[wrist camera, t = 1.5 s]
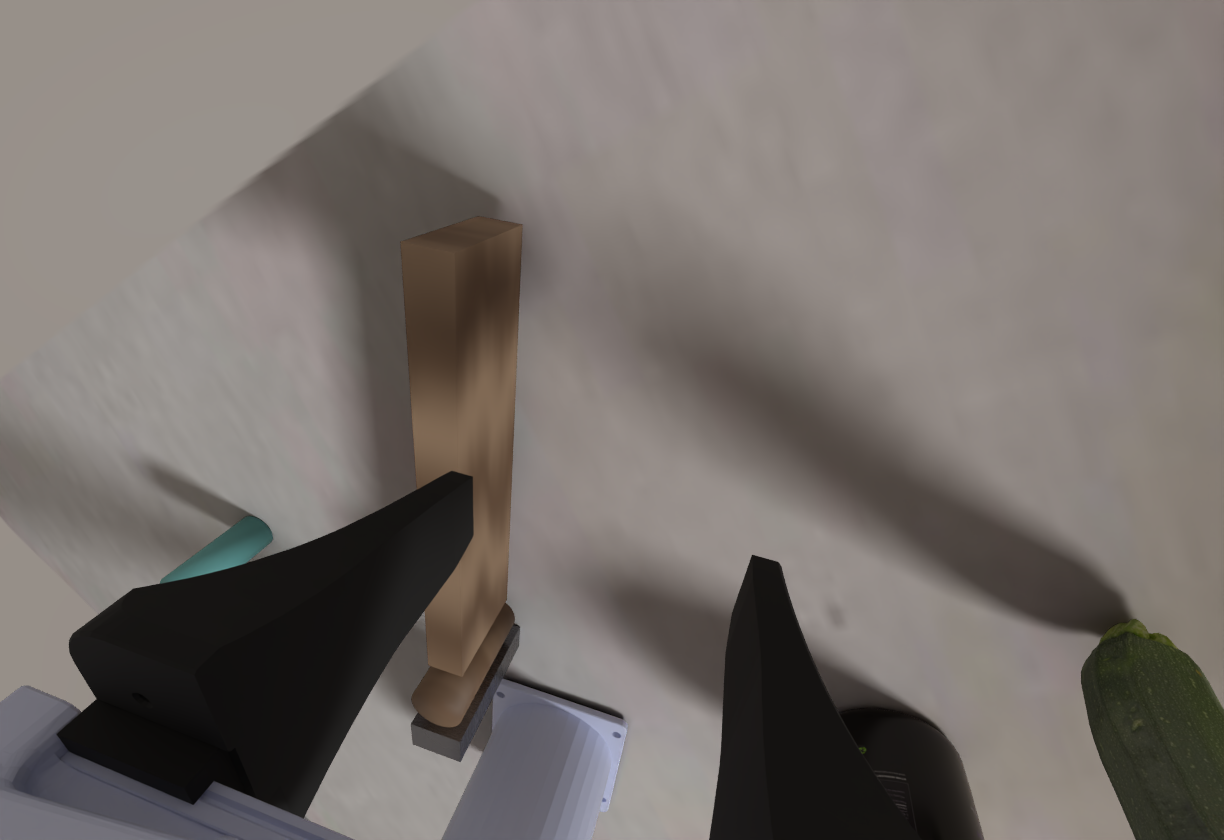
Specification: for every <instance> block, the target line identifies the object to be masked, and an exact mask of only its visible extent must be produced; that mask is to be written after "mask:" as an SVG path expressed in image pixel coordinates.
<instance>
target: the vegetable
mask: <svg viewBox="0 0 1224 840" xmlns="http://www.w3.org/2000/svg"><path fill="white" fill-rule="evenodd" d="M1081 684H1082V690H1083V694H1084V699H1085V704H1086V709H1087V715H1088V720H1089V725H1090V728H1091V732H1092V735H1093V739H1094V742H1095V745H1096V747H1097V750H1098V753H1099V756H1100V759H1101V761H1102V764H1103V766H1104V768H1105V770H1106V772H1107V775H1108V777H1109V779H1110V781H1111V783H1112V786H1113V788H1114V790H1115V792H1116V795H1117V797H1118V799H1119V802H1120V804H1121V806H1122V808H1123V811H1124V813H1125V815H1126V818H1127V820H1128V822H1129V825H1130V827H1131V829H1132V832H1133V834H1134V837H1135V839H1136V840H1224V709H1223V707H1222V706H1221V704H1220V702H1219V700H1218V699H1217V697H1216V695H1215V693H1214V691H1213V689H1212V687H1211V685H1210V683H1209V682H1208V680H1207V678H1206V677H1205V675H1204V674H1203V672H1202V671H1201V669H1200V668H1199V667H1198V665H1197V664H1196V663H1195V662H1194V661H1193V660H1192V659H1191V658H1190V657H1189V655H1187V654H1186V653H1184V652H1182V651H1181V650H1179V649H1178V648H1177V647H1176V646H1175V645H1174V644H1173V643H1172V641H1171V640H1170V639H1169V638H1168V637H1167V636H1164V635H1162V634H1159V633H1153V634H1150V633H1148V631H1147V629H1146V627H1145V626H1144V625H1143V624H1142V623H1141V622H1140V621H1138V620H1136V619H1132V620H1130V621H1129V622H1128V623H1119V624H1117V625H1115V626H1113V627H1112V628H1110V629H1109V630H1108V631H1107V632H1106V633H1105V635H1104V636H1103V637H1102V638H1101V640H1100V643H1099V645H1098V646H1097V647H1096V648H1095V649H1094V650H1093V651H1092V653H1091V655H1090V656H1089V657H1088V658H1087V660H1086V661H1085V663H1084V665H1083V667H1082V671H1081Z"/></svg>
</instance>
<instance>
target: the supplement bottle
mask: <svg viewBox="0 0 1224 840" xmlns="http://www.w3.org/2000/svg"><path fill="white" fill-rule="evenodd" d="M839 714H840V716H841V718H842V720H843V722H844V724H845V725H846V727H847V729H848V731H849V732H850V734H851V736H852V737H853V739H854V741H855V743H856V744H857V746H858V748H859V749H860V751H861V753H862V754H863V756H864V757H865V759H866V760H867V762H868V763H869V765H870V766H871V768H872V770H873V771H874V773H875V774H876V776H877V777H878V779H879V780H880V782H881V783H882V785H883V786H884V788H885V789H886V791H887V793H888V794H889V796H890V797H891V799H892V800H893V801H894V803H895V804H896V806H897V807H898V808H899V810H900V811H901V812H902V814H903V815H904V817H905V818H906V819H907V821H908V822H909V824H910V825H911V826H912V828H913V829H914V830H915V832H916V833H917V834H918V835H919V837H920V838H921V839H922V840H984V836H983V833H982V829H981V826H980V822H979V818H978V815H977V811H976V808H975V804H974V800H973V797H972V793H971V790H970V786H969V783H968V780H967V776H966V773H965V770H964V766H963V763H962V760H961V758H960V756H959V754H958V752H957V751H956V749H955V747H954V746H953V745H952V743H951V742H950V741H949V740H948V739H947V738H946V737H945V736H944V735H943V734H942V733H940V732H939V731H938V730H937V729H935V728H934V727H932V726H931V725H929V724H927V723H925V722H923V721H921V720H919V719H917V718H915V717H912V716H910V715H907V714H904V713H900V712H896V711H892V710H885V709H876V708H864V709H854V710H848V711H844V712H841V713H839Z"/></svg>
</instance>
